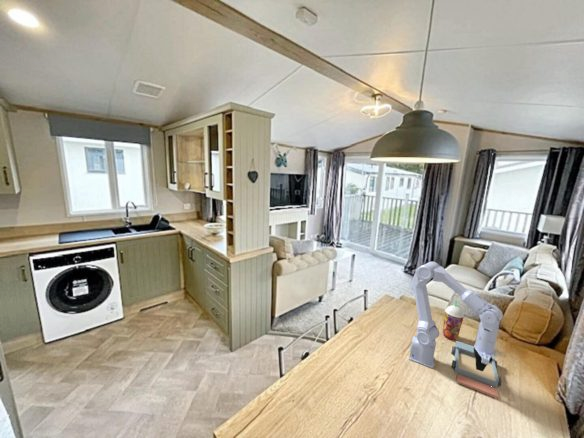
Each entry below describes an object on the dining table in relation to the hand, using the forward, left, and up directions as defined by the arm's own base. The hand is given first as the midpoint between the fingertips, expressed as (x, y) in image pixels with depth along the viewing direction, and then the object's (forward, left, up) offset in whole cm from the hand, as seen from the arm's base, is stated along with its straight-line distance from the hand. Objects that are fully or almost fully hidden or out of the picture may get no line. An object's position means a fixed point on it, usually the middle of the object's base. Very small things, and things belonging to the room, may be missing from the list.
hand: (479, 369), depth 99 cm
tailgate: (0, +4, -9) cm, 9 cm away
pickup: (0, +14, -9) cm, 16 cm away
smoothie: (-9, +33, -9) cm, 35 cm away
